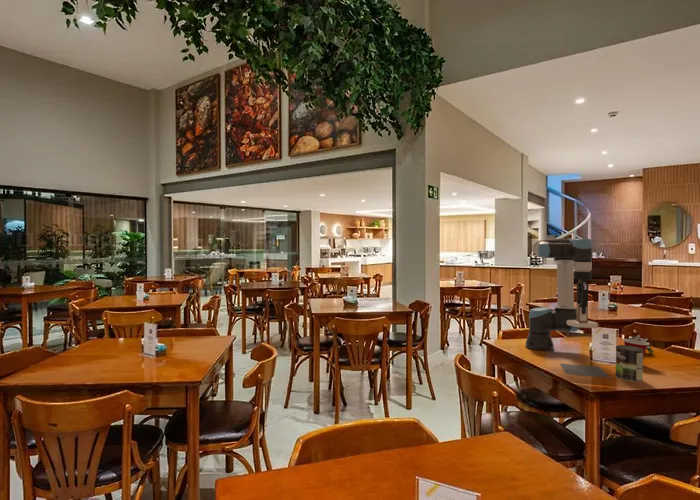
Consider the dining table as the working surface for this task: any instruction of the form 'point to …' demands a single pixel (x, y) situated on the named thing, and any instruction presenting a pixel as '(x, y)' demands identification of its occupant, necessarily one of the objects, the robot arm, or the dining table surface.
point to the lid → (581, 323)
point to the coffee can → (629, 363)
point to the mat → (584, 370)
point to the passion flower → (643, 341)
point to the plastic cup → (636, 344)
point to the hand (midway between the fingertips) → (581, 319)
